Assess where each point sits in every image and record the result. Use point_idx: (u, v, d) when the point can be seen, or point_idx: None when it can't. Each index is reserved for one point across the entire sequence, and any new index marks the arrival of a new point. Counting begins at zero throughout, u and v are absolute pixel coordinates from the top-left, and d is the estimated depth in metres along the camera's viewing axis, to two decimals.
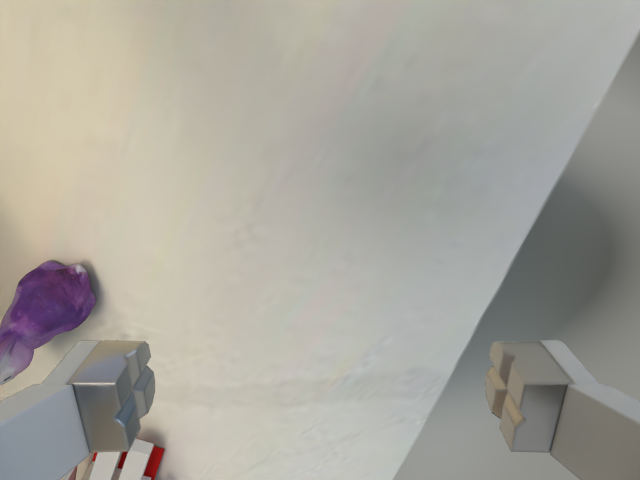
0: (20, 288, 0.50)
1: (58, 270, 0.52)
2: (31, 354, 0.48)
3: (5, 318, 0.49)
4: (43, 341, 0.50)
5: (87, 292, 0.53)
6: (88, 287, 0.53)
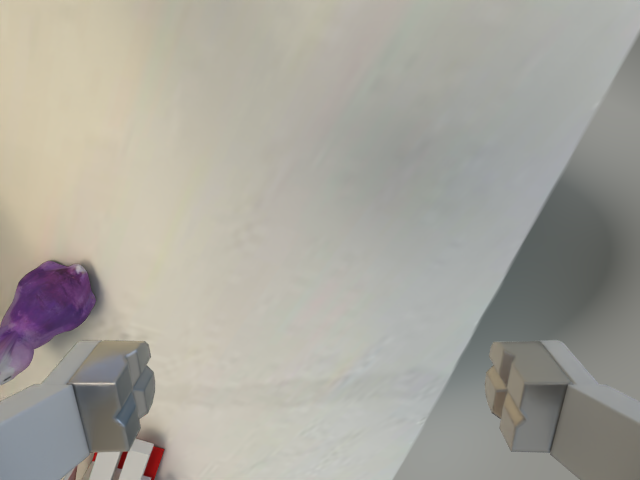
0: (20, 288, 0.50)
1: (58, 270, 0.52)
2: (31, 354, 0.48)
3: (5, 318, 0.49)
4: (43, 341, 0.50)
5: (87, 292, 0.53)
6: (88, 287, 0.53)
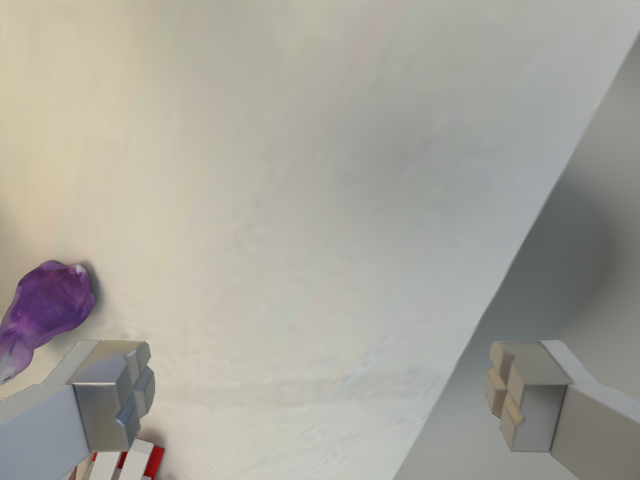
0: (20, 288, 0.50)
1: (58, 270, 0.52)
2: (31, 354, 0.48)
3: (5, 318, 0.49)
4: (43, 341, 0.50)
5: (87, 292, 0.53)
6: (88, 287, 0.53)
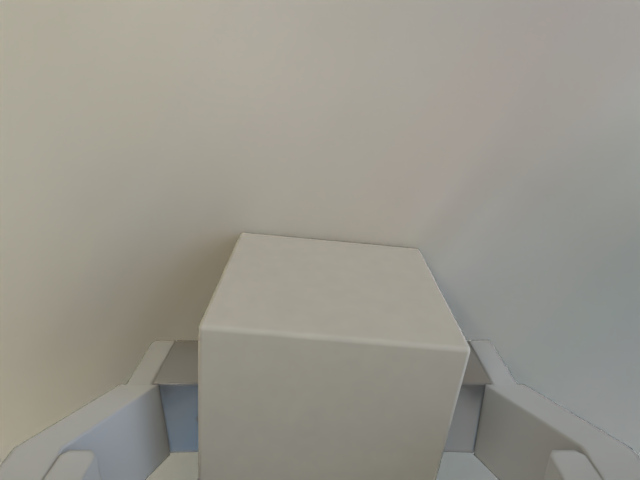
0: None
1: None
2: None
3: None
4: None
5: None
6: None
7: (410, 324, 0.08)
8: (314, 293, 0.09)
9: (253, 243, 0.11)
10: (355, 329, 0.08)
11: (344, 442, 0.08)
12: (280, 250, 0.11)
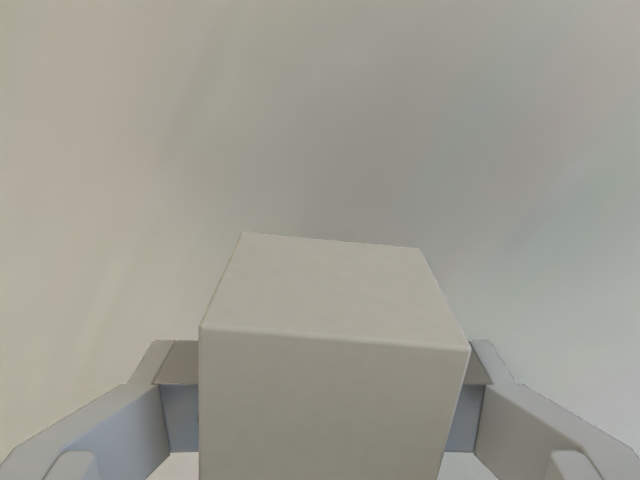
0: None
1: None
2: None
3: None
4: None
5: None
6: None
7: (411, 323, 0.08)
8: (314, 293, 0.09)
9: (253, 243, 0.11)
10: (356, 328, 0.08)
11: (344, 443, 0.08)
12: (281, 249, 0.11)
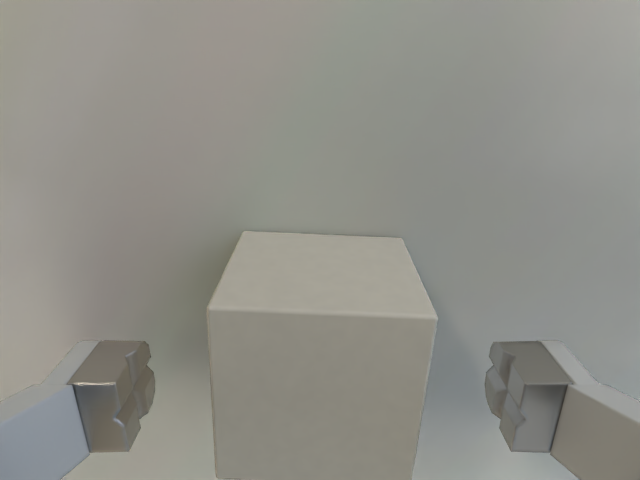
0: None
1: None
2: None
3: None
4: None
5: None
6: None
7: (387, 299, 0.09)
8: (305, 278, 0.10)
9: (253, 240, 0.12)
10: (340, 305, 0.09)
11: (336, 404, 0.10)
12: (277, 243, 0.12)
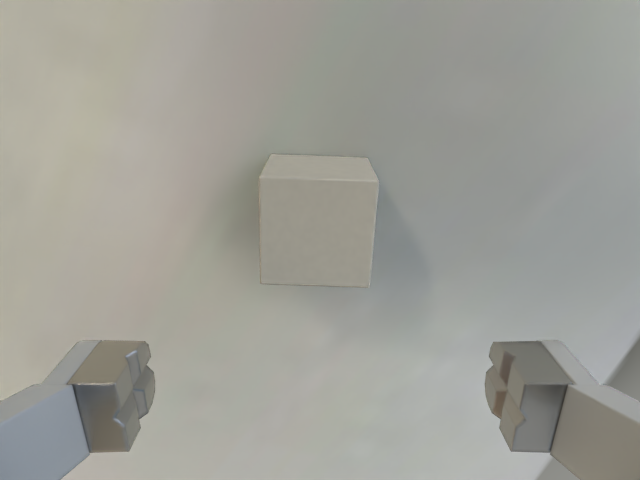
0: None
1: None
2: None
3: None
4: None
5: None
6: None
7: (353, 175, 0.18)
8: (309, 169, 0.19)
9: (278, 157, 0.21)
10: (328, 176, 0.17)
11: (327, 234, 0.18)
12: (292, 158, 0.20)
